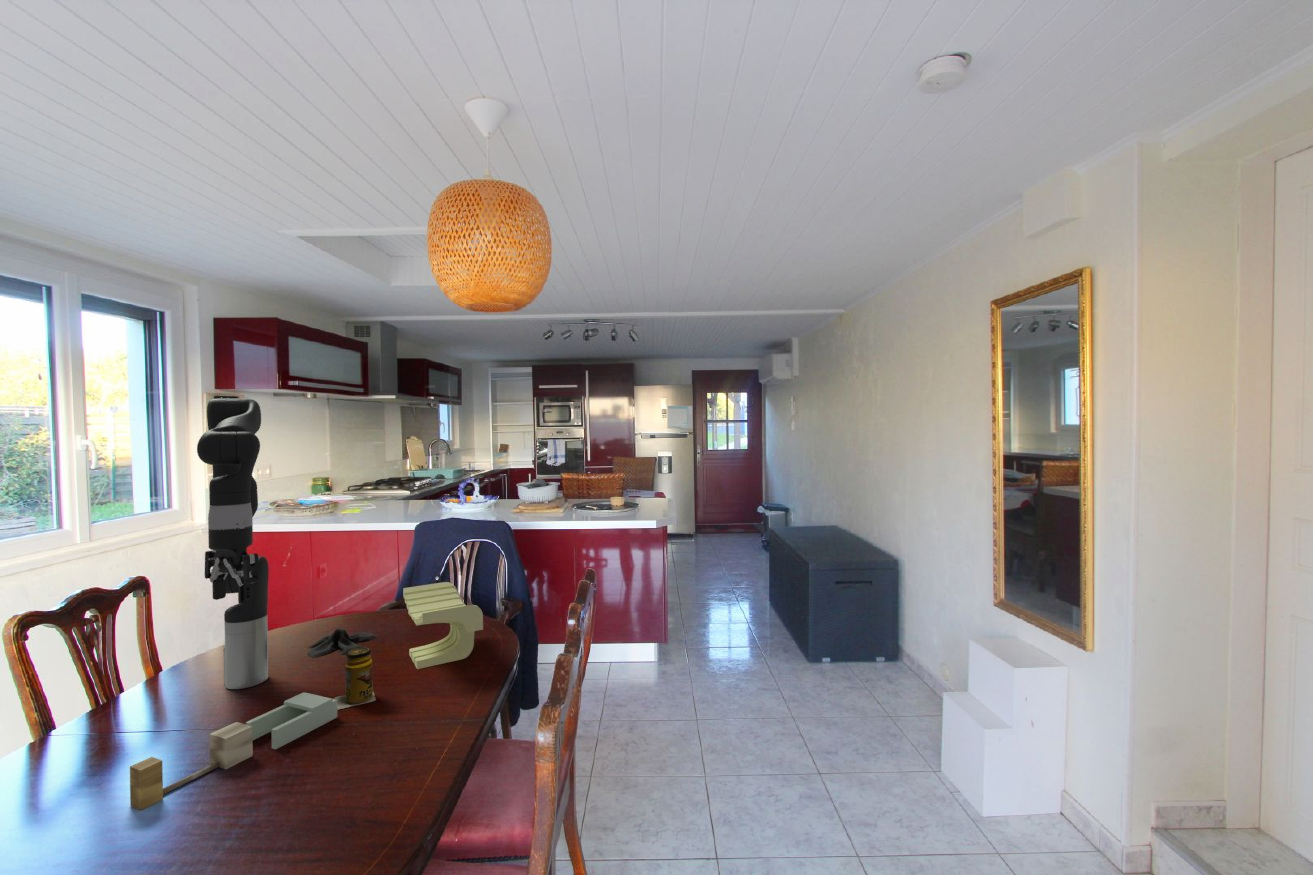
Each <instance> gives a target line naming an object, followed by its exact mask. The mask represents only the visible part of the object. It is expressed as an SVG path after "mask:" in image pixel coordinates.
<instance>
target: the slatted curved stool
mask: <svg viewBox="0 0 1313 875" xmlns="http://www.w3.org/2000/svg"><path fill="white" fill-rule="evenodd" d="M403 599H404V603H405V604H406V609H407V611H408V615H409V617H411V620H412V621H413V622H414V624H415V626H423V625H429V624H442V623H443V624H444V623H445V624H449V626H450V627H449V628H450V629H449V633H448V634H447V636H445V637H444V638H442V639H440V640H438V641H435V642H432V643H429V644H425V645H420V646H416V647H412V648H409V650H408V652H409V653H408V655H409V657H410V658H411V660H412V663H413V664H414V666H415V668H416V669H417V670H421V669H424V668H429V667H434V666H438V665H442V664H446V663H451V662H455V661H461V660H464V659H466V658H468V657H469V656H470V654H472V651H473V649H474V646H475V632H477V631H478V632H479V631H482V630H484V614H483V611H482V608H480V607H479V606H478V605H476V604H469V605H466V604H465V603H464V602H463V599H462V598H461V596H460V593H459V591H458V588H457V586H455V585H454V584H453V583H451V582H449V581H444V582H443V581H442V582H438V583H437V582H435V583H429V584H423V585H415V586H410V587H404V588H403Z"/></svg>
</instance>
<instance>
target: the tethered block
mask: <svg viewBox="0 0 1313 875" xmlns="http://www.w3.org/2000/svg"><path fill="white" fill-rule="evenodd" d="M253 741H254V740H252V726H249V725H246V723H245V724H244V723H241V722H238V721H235V722H233V723H231V724H229V725H226V726H225V727H222V728H219V729H218V730H215V731H213V732H211V733H209V764H210V765H207V766H206V767H203V768H202V769H200V770H197V771H195V772H193V773H192V774H190V775H188V776H186V777H184V778H182V779H180V780H178V781H177V780H176V782H173V783H171V784H168V785H167V786H165V787H163V785H164V781H163V777H164V776H163V774H164V773H163V760H162V759H159V758H156V757H153V756H150V757H148V758H146V759H143V760H142V761H140V762H136V763H134V764H132V765H131V766H129V787H130V788H129V790H130V792H129V796H130V797H129V802H130V807H132V808H134V809H136V810H140V811H143V810H144V809H147V808H149V807H150V806H152V805H155V804H156V803H158V802H161V801H162V800H164V795H165V794H167V793H170V792H172V791H174V790H175V789H178V788H179V787H182V786H184V785H185V784H187V783H190V782H192V781H193V780H195V779H198V778H199V777H201V776H203V775H206V774H207V773H210V772H211V771H213V770H215V769H217V768H220V769H224V770H228V769H230V768H232V767H234V766H236V765H237V764H239V763H241V762H243V761H246V760H248V759H249V758H252V757H253V754H254V751H253V748H254V747H253Z"/></svg>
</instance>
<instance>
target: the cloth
mask: <svg viewBox="0 0 1313 875" xmlns="http://www.w3.org/2000/svg"><path fill="white" fill-rule="evenodd" d="M378 637H379V636H378V635H377V634H375V633H372V632H371V633H370V632H363V631H360V632H355V633H353V634H349V633H348V632H347V631H346V629H343V628H338V627H337V628H336V629H335V630H334V631H333V633H332V634H330V635H329V634H328V635H326V636H324V637H323V638H321V639H319V640H317V641H316V642H315V643H313V644H311V645H309V646H307V649H310V650H309V651H307V655H308V656H309V657H311V659H317V658H320V657H322V656H324V655H325V656H326V655H328V654H330V653H333V652H334V651H336V650H338V649H340V650H341V652H340V653H339V654H338V656H345V655H347V653H348V652H349V651H350V650H353V649H356V648H363V647H364V648H367V646H362V645H358V644H357V643H362V642H364V641H371V640H374V639H377V638H378Z"/></svg>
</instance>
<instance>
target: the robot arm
mask: <svg viewBox="0 0 1313 875" xmlns="http://www.w3.org/2000/svg"><path fill="white" fill-rule="evenodd" d="M261 412H262V411H261V406H260V404H259V403H258V401H256V400H255V399H251V398H212V399H210V400H209V401H208V402H207V406H206V420H207V421H206V422H207V429H208V430H207V431H205V432H204V433H203V434H202V435H201V436H200V437H199V439H198V442H197V444H196V445H197V446H196V453H197V456H198V458H199V459H200V460H201V461H202V462H203V463H205V464H207V465H209V466H210V465H211V466H212V479H210V481H209V487H208V488H209V508H208V514H207V515H208V516H207V520H208V522H207V523H208V524H207V525H208V526H207V529H208V532H207V533H208V549H209V550H207V551H205V552H204V579H206V580H207V579H209V581H210V583H212V585H211V586H212V589H211V590H212V600H221V599H224V598H225V597H226V596H227V595H228V594H237V600H238V601H237V602H238V603H236V604H234V605H231V606H230V607H227V609H225V611H224V615H223V616H224V617H223V618H224V621H223V622H224V648H223V685H224V686H225V688H226V689H229V690H240V689H241V690H242V689H246V688H251V687H254V686H257V685H259V684H262V683H264V682H265V681H267V680H268V678H269V636H268V634H269V631H268V629H269V627H268V625H269V624H268V602H269V600H268V599H269V577H270V576H269V574H270V572H269V571H270V569H269V567H270V566H269V565H270V564H269V562H268V559H267V558H266V557H265V556H263V555H259V554H258V553H250V554H249V553H248V550H247V548H248V547H251V545H253V541H254V538H253V536H254V535H253V530H254V529H253V527H254V526H253V525H254V524H253V518H254V516H255V514H256V513H257V511H258V507H259V501H258V499H259V498H258V496H259V495H258V484H257V482H256V479H255V478H254V477H253V472H254V468H255V466H256V463H257V459H258V457H259V453H260V450H261V442H260V439H259V438H258V436H257V435H256V434H257V432H259V430H260V428H261V424H262V413H261ZM211 568H212V569H211Z"/></svg>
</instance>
